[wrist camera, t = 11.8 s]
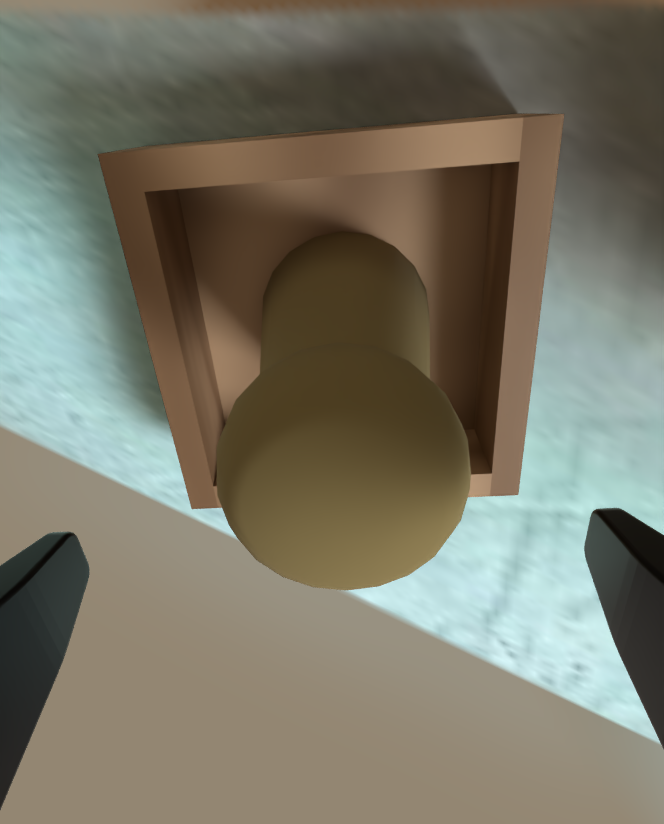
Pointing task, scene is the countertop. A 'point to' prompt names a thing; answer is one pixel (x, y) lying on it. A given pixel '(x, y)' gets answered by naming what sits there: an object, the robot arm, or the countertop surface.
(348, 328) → the cork
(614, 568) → the robot arm
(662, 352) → the countertop surface
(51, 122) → the countertop surface
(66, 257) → the countertop surface
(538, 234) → the box
